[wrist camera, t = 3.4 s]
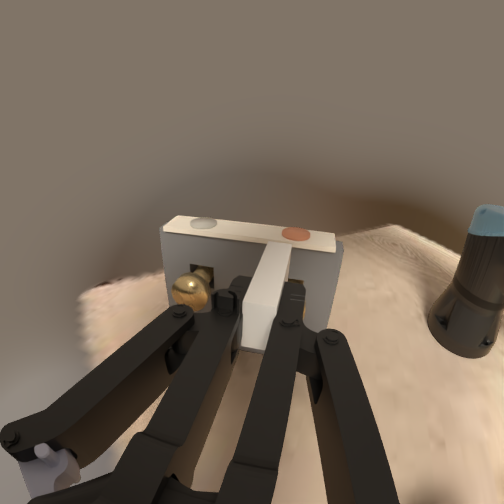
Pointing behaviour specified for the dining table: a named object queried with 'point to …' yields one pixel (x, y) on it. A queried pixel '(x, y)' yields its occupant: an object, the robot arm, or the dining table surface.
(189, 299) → the knob
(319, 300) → the console
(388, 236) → the dining table surface
